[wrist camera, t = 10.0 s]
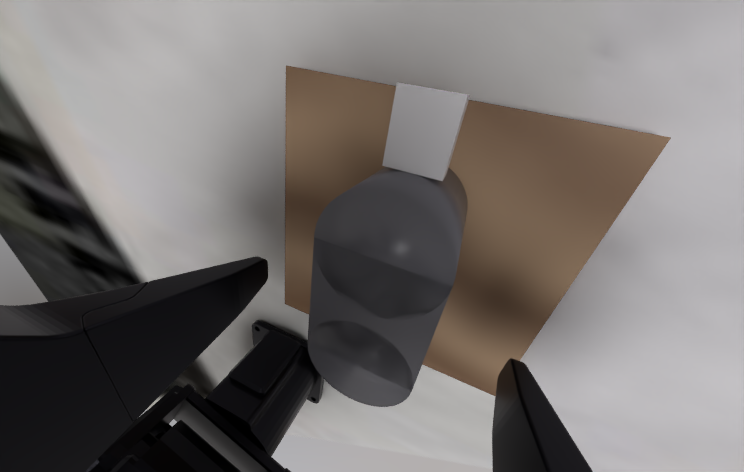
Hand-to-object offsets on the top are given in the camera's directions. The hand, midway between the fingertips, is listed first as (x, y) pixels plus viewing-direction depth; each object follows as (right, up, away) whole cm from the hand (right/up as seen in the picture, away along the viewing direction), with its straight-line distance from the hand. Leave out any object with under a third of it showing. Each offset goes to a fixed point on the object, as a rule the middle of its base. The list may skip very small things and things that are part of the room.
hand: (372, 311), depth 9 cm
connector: (+2, +3, +3) cm, 5 cm away
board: (+2, +2, +5) cm, 5 cm away
